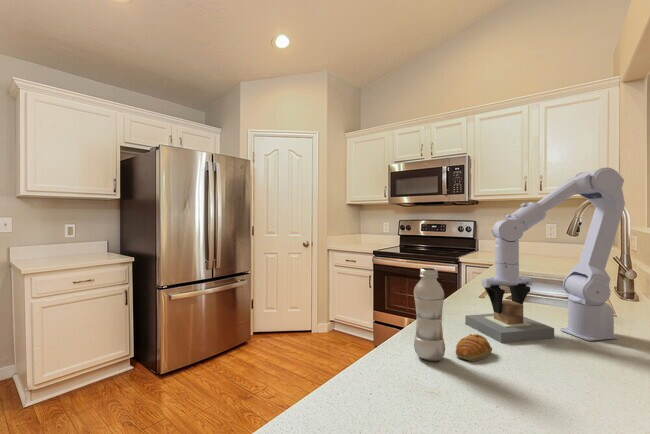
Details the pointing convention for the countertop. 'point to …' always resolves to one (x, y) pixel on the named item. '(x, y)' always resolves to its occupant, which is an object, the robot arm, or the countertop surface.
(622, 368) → the countertop surface
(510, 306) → the walnut cube
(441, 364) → the countertop surface
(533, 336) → the slate board
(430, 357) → the plastic bottle
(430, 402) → the countertop surface
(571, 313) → the robot arm
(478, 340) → the pastry
